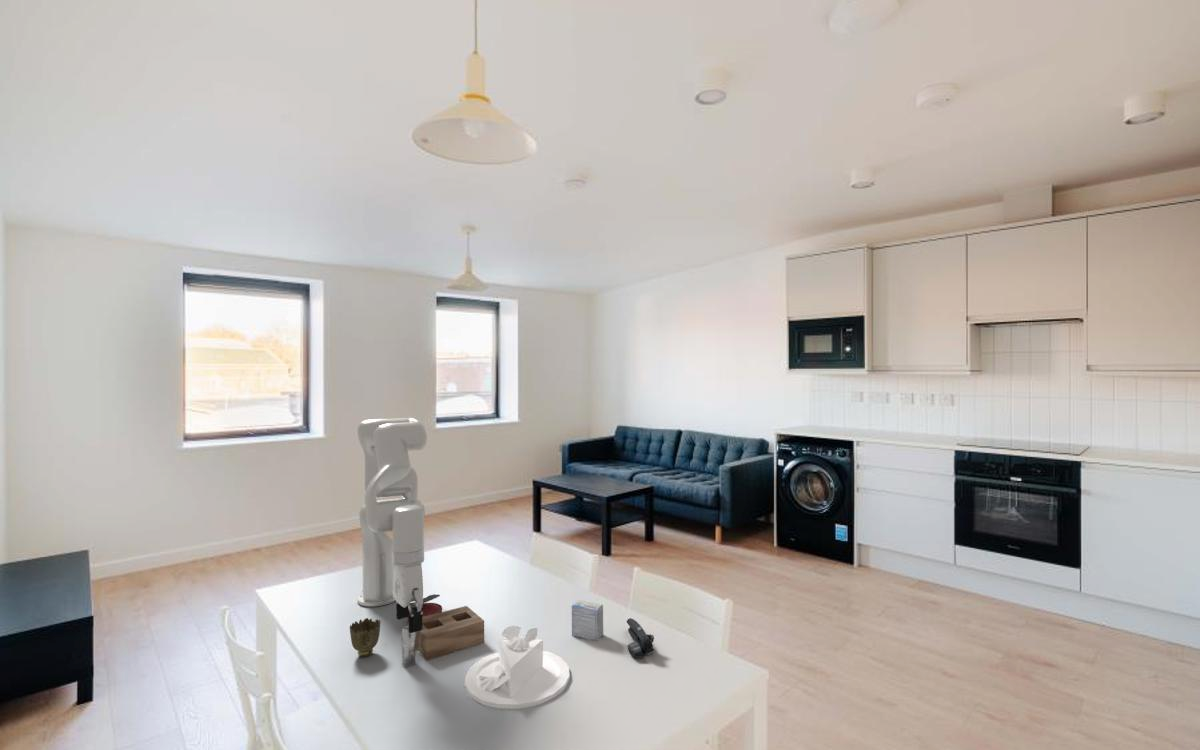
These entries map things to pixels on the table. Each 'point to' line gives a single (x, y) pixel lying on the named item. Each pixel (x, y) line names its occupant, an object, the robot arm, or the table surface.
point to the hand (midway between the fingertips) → (409, 624)
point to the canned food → (429, 606)
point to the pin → (408, 647)
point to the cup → (365, 636)
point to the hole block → (449, 632)
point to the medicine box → (587, 620)
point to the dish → (517, 673)
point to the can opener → (639, 640)
